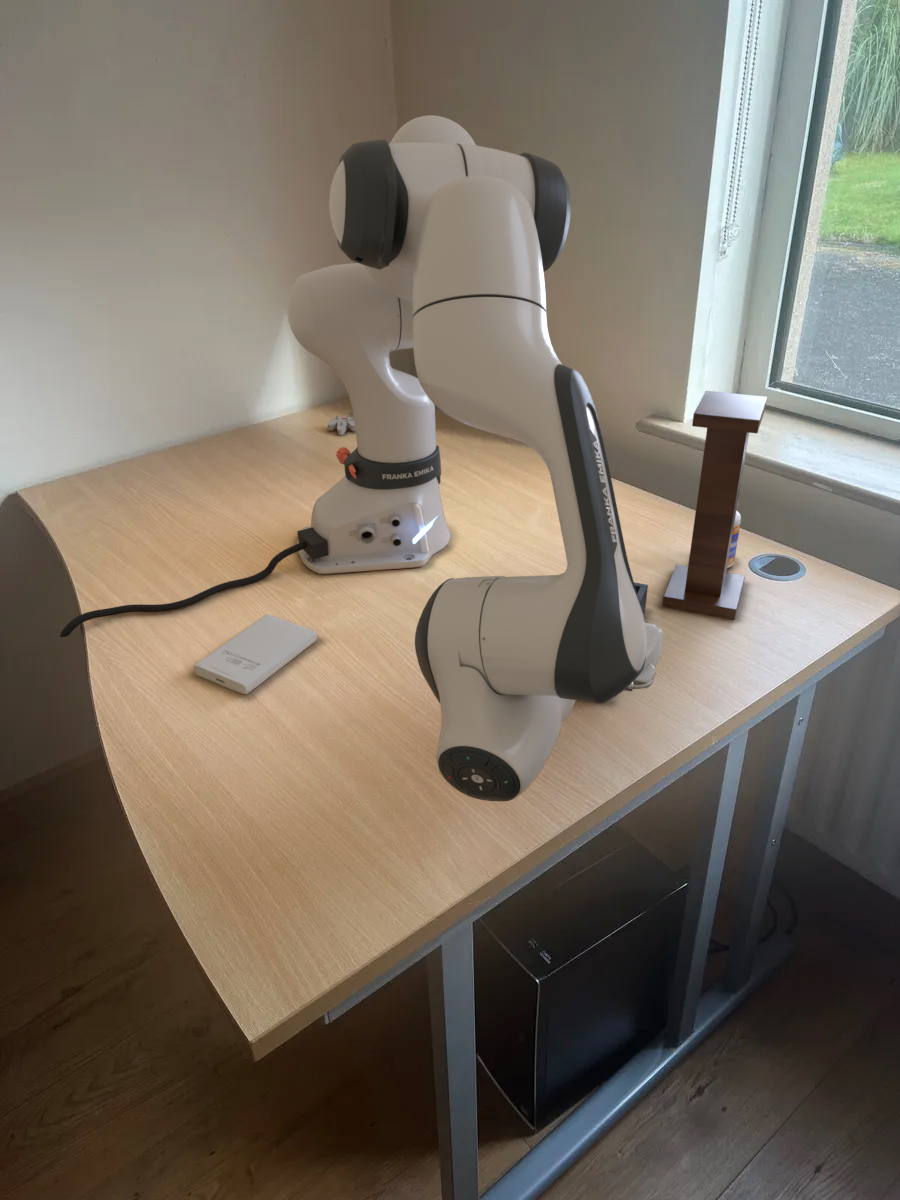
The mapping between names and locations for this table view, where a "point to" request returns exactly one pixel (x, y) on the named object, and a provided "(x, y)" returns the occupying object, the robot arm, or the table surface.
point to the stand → (716, 506)
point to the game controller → (341, 424)
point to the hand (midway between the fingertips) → (577, 598)
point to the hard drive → (255, 654)
